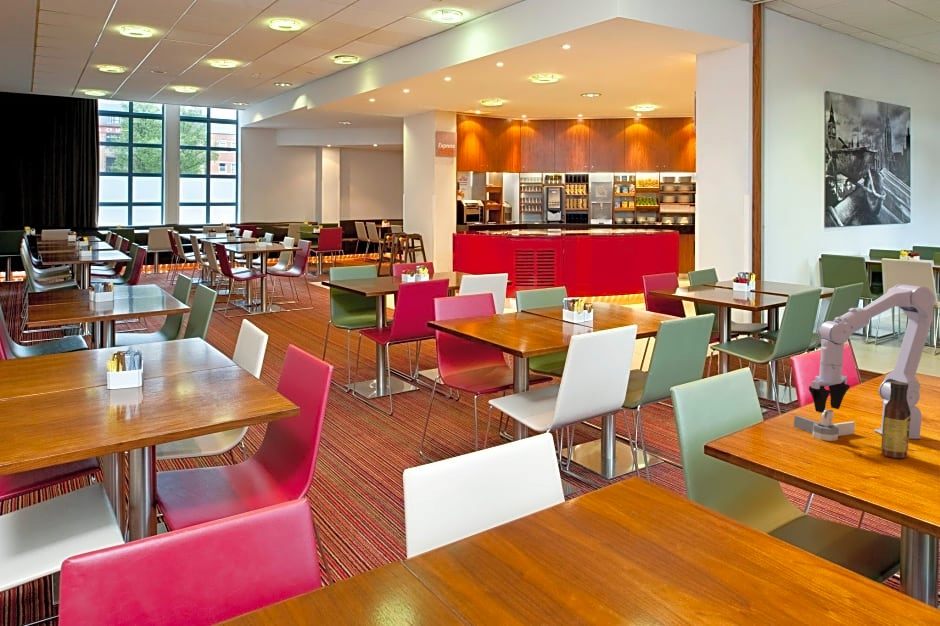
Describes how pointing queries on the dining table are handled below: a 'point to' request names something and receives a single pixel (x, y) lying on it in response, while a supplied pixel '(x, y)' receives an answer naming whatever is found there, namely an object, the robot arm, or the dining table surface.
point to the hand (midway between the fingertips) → (827, 410)
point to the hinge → (824, 428)
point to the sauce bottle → (896, 422)
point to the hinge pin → (827, 418)
